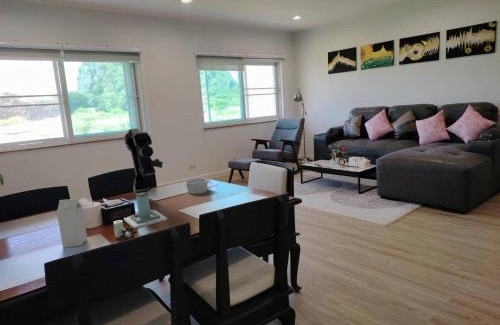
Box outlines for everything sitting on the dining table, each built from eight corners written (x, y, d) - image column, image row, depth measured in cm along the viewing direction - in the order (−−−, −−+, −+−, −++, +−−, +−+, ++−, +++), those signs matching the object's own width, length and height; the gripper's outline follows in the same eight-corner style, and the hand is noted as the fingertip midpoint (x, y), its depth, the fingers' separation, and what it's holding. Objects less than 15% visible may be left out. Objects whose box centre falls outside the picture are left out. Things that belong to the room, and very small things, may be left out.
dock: (123, 220, 170) (123, 215, 170) (155, 212, 179) (154, 208, 179) (134, 228, 158) (133, 224, 157) (167, 219, 167) (167, 215, 166)
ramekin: (182, 194, 210) (181, 183, 209) (193, 188, 222) (192, 178, 221) (201, 195, 205) (200, 184, 204) (212, 189, 217) (211, 178, 216)
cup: (137, 218, 169) (134, 194, 167) (148, 215, 172) (145, 191, 170) (141, 220, 164) (138, 196, 162) (152, 217, 168) (149, 193, 165)
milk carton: (70, 241, 148) (62, 197, 145) (87, 239, 149) (80, 196, 145) (62, 248, 141) (54, 202, 138) (80, 246, 142) (73, 201, 138)
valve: (110, 237, 150) (121, 244, 141) (108, 222, 148) (119, 229, 140) (125, 232, 154) (137, 239, 145) (123, 218, 153) (135, 224, 144)
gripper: (162, 154, 175) (168, 184, 177) (157, 153, 192) (162, 180, 194) (139, 158, 171) (145, 189, 173) (136, 156, 188) (142, 185, 190)
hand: (150, 186), depth 183 cm, fingers open, 9 cm apart
